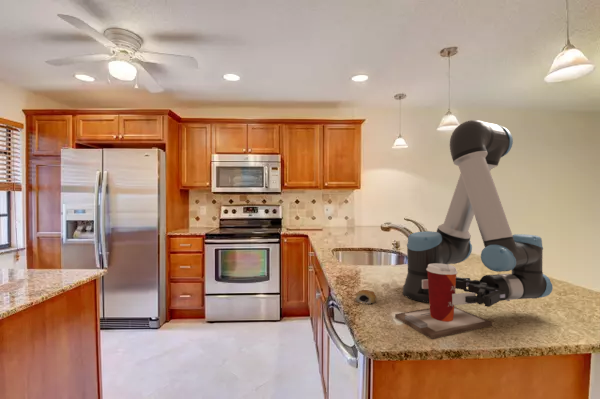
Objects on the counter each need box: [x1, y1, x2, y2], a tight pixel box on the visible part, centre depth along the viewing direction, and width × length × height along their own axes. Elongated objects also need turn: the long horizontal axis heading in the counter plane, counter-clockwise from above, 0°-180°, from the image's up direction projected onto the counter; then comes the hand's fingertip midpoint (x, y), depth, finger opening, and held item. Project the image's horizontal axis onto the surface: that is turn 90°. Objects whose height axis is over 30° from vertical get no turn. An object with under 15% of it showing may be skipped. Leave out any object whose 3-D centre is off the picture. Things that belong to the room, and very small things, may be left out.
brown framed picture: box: [394, 306, 493, 340], centre depth 81 cm, size 14×22×2 cm, turn 110°
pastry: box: [354, 289, 377, 305], centre depth 99 cm, size 9×7×4 cm
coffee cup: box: [426, 263, 458, 321], centre depth 81 cm, size 8×8×15 cm
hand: (436, 291), depth 81 cm, fingers open, 13 cm apart
